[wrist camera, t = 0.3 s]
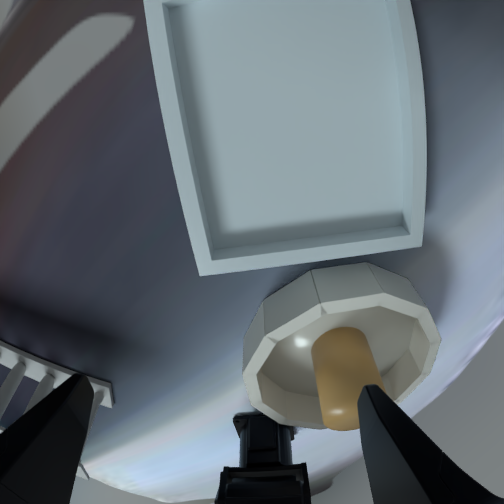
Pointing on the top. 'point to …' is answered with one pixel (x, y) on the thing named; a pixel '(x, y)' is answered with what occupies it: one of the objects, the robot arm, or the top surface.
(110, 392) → the test tube rack
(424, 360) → the ceramic dish
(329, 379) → the tan rounded cylinder
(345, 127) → the grey tray
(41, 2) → the top surface
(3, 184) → the top surface
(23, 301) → the top surface
